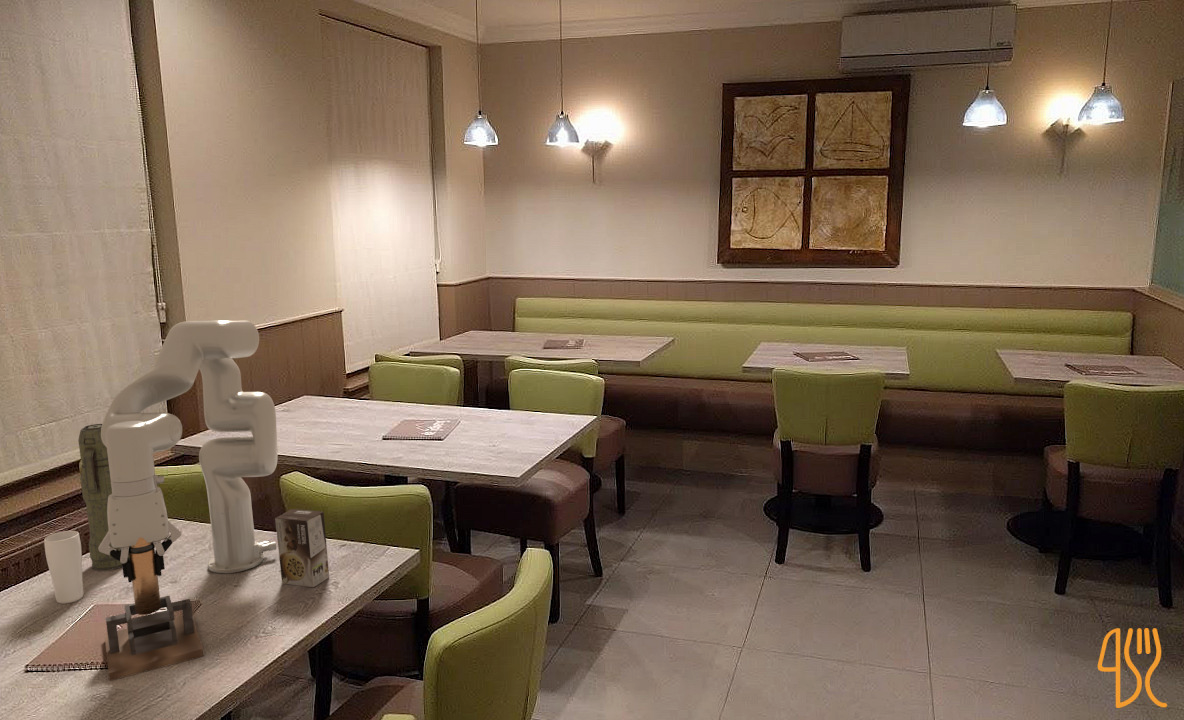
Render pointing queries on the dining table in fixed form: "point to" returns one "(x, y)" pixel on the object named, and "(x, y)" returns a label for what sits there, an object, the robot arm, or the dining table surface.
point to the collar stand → (151, 639)
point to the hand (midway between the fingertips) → (144, 575)
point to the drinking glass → (65, 565)
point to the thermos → (96, 493)
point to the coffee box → (302, 547)
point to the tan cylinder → (144, 577)
